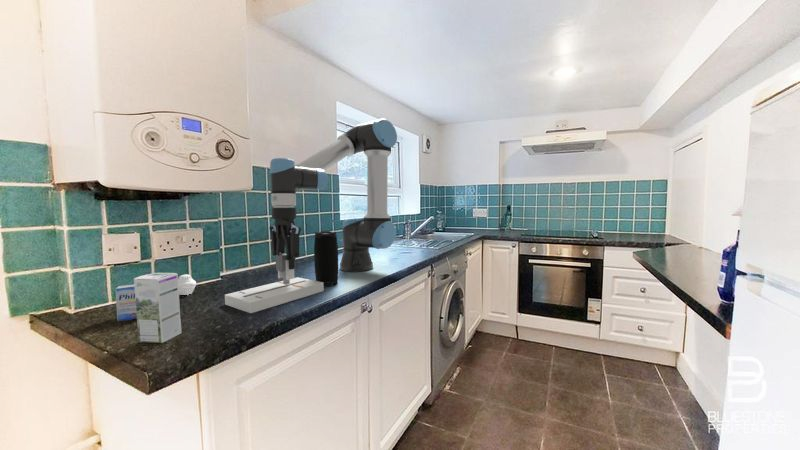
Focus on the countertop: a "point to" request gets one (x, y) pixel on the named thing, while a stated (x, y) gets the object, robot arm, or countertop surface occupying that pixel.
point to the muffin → (186, 284)
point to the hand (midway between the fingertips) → (286, 278)
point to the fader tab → (282, 266)
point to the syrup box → (157, 307)
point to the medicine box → (125, 302)
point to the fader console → (272, 294)
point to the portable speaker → (326, 257)
